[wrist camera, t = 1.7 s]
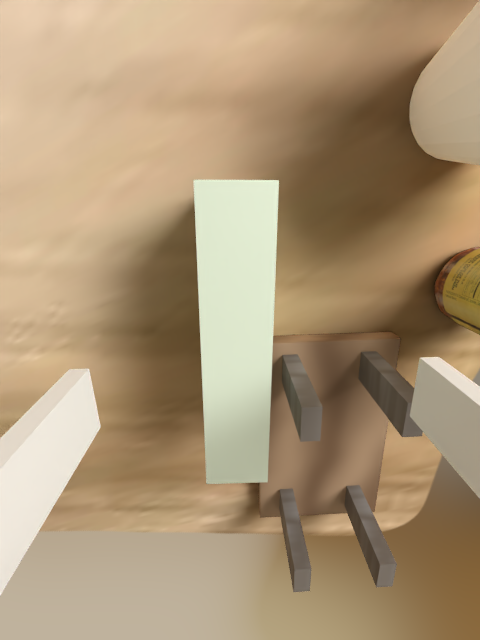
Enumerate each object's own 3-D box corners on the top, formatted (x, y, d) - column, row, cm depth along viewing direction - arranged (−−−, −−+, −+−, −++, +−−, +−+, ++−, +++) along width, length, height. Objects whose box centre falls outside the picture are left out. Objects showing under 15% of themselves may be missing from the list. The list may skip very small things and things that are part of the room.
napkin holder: (258, 503, 32) (269, 602, 24) (257, 336, 26) (270, 393, 18) (368, 498, 33) (414, 593, 25) (391, 331, 27) (462, 385, 19)
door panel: (213, 390, 28) (206, 483, 19) (207, 190, 23) (193, 179, 13) (254, 389, 28) (267, 482, 19) (257, 190, 23) (278, 180, 13)
